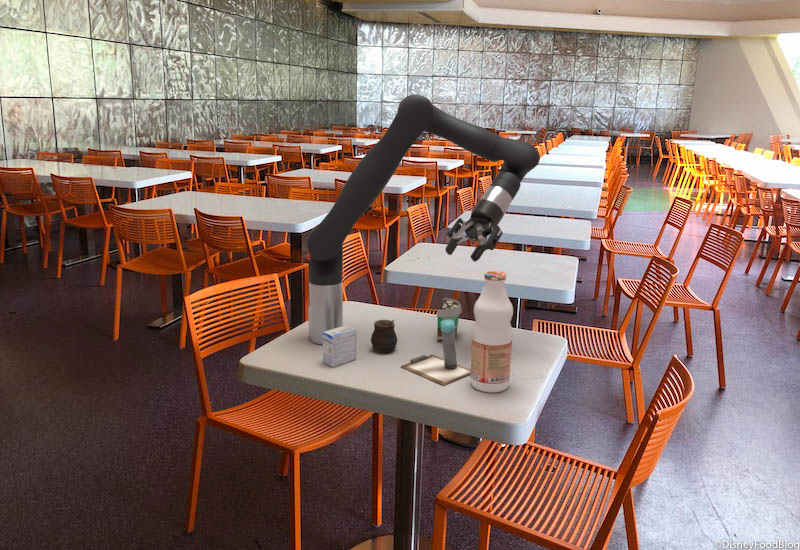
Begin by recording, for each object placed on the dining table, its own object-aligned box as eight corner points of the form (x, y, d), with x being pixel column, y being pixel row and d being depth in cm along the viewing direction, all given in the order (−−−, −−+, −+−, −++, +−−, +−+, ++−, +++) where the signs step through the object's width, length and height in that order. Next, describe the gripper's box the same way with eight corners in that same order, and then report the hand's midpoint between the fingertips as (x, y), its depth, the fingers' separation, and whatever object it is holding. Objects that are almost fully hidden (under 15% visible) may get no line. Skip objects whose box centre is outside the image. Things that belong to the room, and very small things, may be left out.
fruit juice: (463, 387, 153) (467, 274, 145) (480, 373, 161) (485, 266, 153) (499, 397, 148) (505, 281, 141) (515, 382, 156) (522, 272, 148)
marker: (441, 367, 163) (437, 323, 158) (449, 361, 165) (446, 318, 160) (451, 371, 161) (448, 326, 156) (460, 365, 163) (456, 321, 158)
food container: (458, 345, 179) (459, 311, 176) (436, 343, 180) (437, 309, 178) (462, 330, 191) (464, 298, 188) (442, 328, 192) (443, 297, 189)
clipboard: (400, 367, 164) (400, 362, 164) (432, 355, 171) (432, 351, 171) (443, 386, 153) (443, 381, 153) (474, 373, 161) (474, 368, 161)
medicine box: (346, 355, 171) (345, 324, 169) (356, 359, 168) (356, 328, 166) (322, 363, 166) (321, 331, 164) (333, 368, 163) (332, 336, 161)
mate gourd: (382, 343, 180) (383, 309, 177) (403, 350, 175) (404, 315, 173) (365, 350, 175) (365, 315, 172) (386, 357, 170) (387, 322, 167)
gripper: (465, 194, 169) (433, 242, 164) (508, 201, 159) (475, 253, 155) (476, 212, 174) (446, 259, 169) (519, 220, 164) (488, 270, 159)
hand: (460, 256), depth 162 cm, fingers open, 8 cm apart
